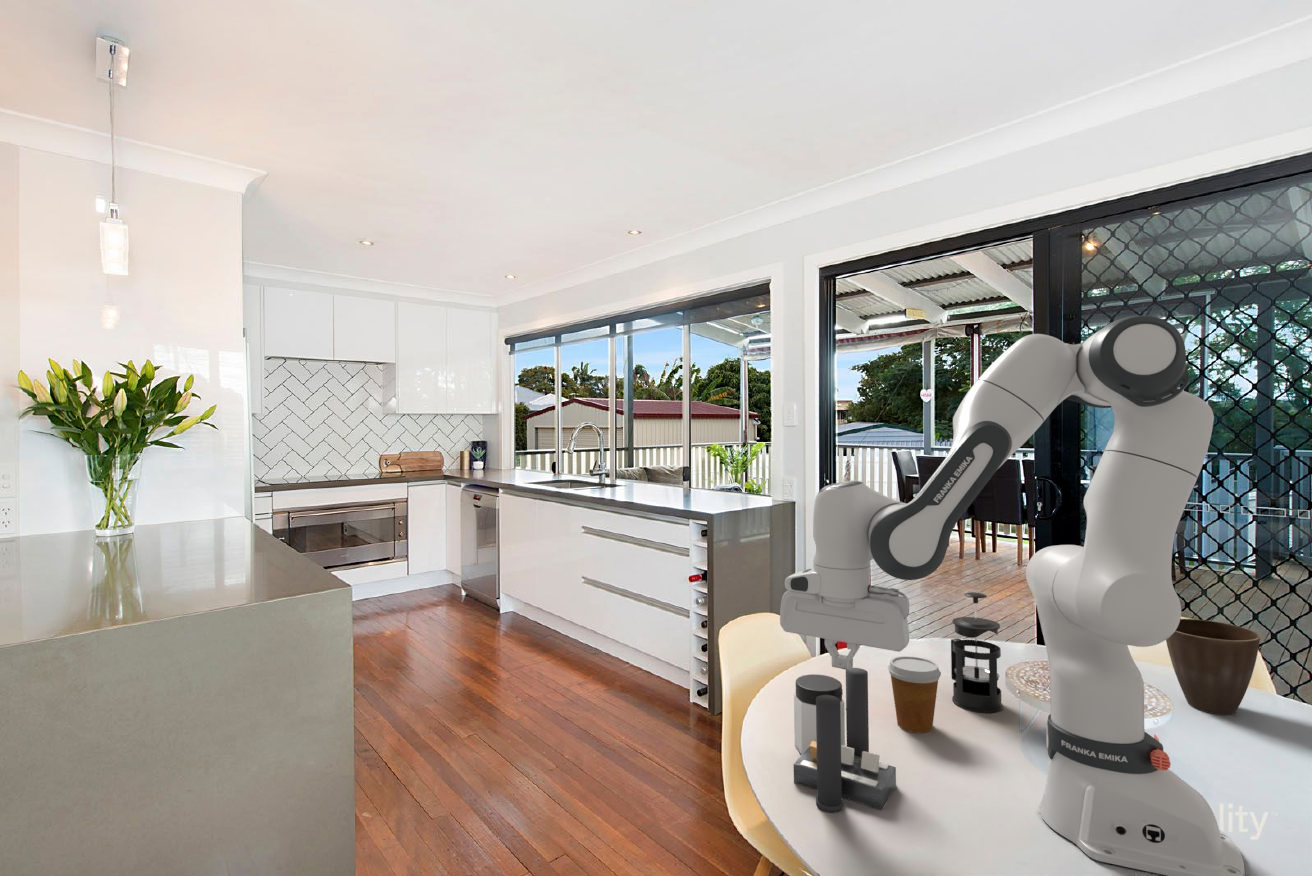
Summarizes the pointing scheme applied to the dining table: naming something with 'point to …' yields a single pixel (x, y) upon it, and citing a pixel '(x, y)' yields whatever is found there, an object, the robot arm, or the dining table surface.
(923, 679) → the disposable coffee cup
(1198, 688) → the plant pot
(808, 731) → the jar
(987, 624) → the french press
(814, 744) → the tripped paddle
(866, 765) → the white block
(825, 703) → the cord post outer
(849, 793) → the breaker panel
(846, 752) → the white block
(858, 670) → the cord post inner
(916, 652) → the dining table surface
